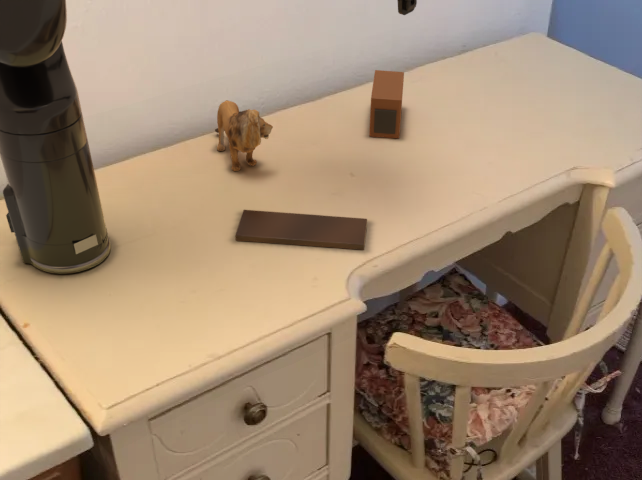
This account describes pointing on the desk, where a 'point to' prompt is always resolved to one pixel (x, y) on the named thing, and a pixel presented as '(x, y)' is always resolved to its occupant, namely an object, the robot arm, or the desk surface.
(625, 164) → the desk surface
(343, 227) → the walnut board
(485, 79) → the desk surface
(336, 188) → the desk surface
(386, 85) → the brown cardboard box
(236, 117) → the lion figurine
